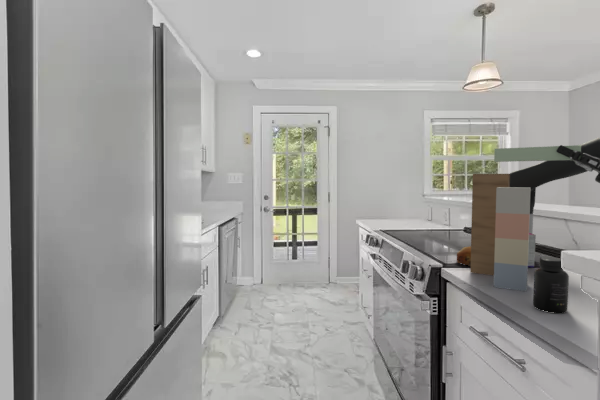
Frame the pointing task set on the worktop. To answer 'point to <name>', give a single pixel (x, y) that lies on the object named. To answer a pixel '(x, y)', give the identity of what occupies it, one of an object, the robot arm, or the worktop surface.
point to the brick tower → (512, 237)
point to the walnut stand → (484, 220)
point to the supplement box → (531, 250)
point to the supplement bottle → (551, 286)
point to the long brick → (532, 154)
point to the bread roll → (464, 256)
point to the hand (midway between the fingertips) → (558, 148)
